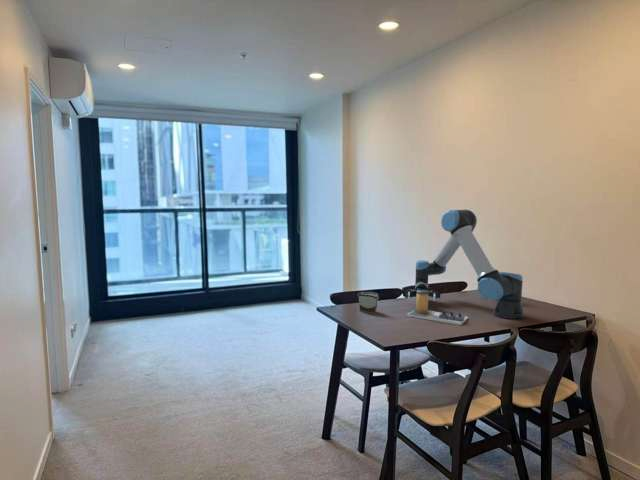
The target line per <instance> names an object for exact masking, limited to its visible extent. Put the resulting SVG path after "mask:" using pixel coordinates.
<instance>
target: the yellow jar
mask: <svg viewBox="0 0 640 480" xmlns="http://www.w3.org/2000/svg"><path fill="white" fill-rule="evenodd" d="M429 291H430V290H429ZM429 291H427V290H417V291H416V293H417V296H416V300H415V301H416V305H415V309H416V312H417V313H420V314H426V313H428V310H429V309H428V306H429V296H428V294H429Z"/></svg>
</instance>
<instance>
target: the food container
mask: <svg viewBox="0 0 640 480" xmlns="http://www.w3.org/2000/svg"><path fill="white" fill-rule="evenodd" d="M357 297H358V304H359V307H358V308H359V312H364V313H371V314H376V313H377V308H378V300H379V299H380V296H379V294H378V293H377V292H371V291H361V292H358V293H357Z"/></svg>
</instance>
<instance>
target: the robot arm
mask: <svg viewBox="0 0 640 480" xmlns="http://www.w3.org/2000/svg"><path fill="white" fill-rule="evenodd" d="M440 222H441V223H440V224H441V227H442V229H443V230H444V231H445V232H449V233H450V237H449V238H448V239H447V241H446V243H445V244H444V245H443V247H442V248H441V250H440V251H439V253H438V254H437V256H436V257H435V258H434V260H433V261H432V262H429V261H428V260H421V259H420V260H417V261H416V263H415V281H414V289H412V288H409V289H407V290H404V291H402V296H403V297H405V298H407V300H410V297H413V296H416V297H417V293H416V291H417V290H427V291H429V294H428V297H431V298H433V302H436V299H441V293H440V292H438V291H435V290H434V289H432V290H429V276H436V275H438V276H439V275H442V274H445V272H446V271H447V265H448V263H449V262H450V260H451V259H452V258H453V256H454V255H455V253H456V252H457V250H459V248H460V247H461V248H462V250H463V253H465V256H466V257H467V259H468V261H469V262H470V264H471V266H472V268H473V269H474V272H475V273H476V275H477V278H476V280H477V292H478V293H479V295H480V296H481V298H483V299H484V300H487V301H496V303H495V306H494V308H493V313H492V314H493V315H494V316H495V315H496V317H497V318H501V317H502V319H507V318H509V320H517V319H516V318H522V317H524V318H525V311H524V307H523V305H522V304H523V303H522V295H523V293H522V292H523V276H522V274H519V273H513V272H507V271H499V270H498V269H496V268H494V267H493V265H492V264H491V263H490V260H489V259H488V257H487V255H486V253H485V252H484V250H483V248H482V247H481V245H480V243H479V242H478V240H477V238H476V236H475V235H474V233H473V232H474V230H475V228H476V226H477V223H478V220H477V216H476V214H475V213H474V212H473V211H472V210H470V209H449V210H446V211H445V212H444V213H443V214H442V217H441V220H440ZM493 268H494V269H493ZM522 319H523V318H522Z"/></svg>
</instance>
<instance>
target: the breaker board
mask: <svg viewBox="0 0 640 480" xmlns="http://www.w3.org/2000/svg"><path fill="white" fill-rule="evenodd" d="M454 313H455V312H454V311H450V313H447V311H446V309H444V310H442V312H439V311H435V310H431V309H428V313H426V314H420V313H417V312H416V308H415V309H413V310H412V311H410V312H408V313H407V314H406V315H407V317H409V318H415V319H423V320H428V321H434V322H439V323H445V324H446V323H447V324H452V325H459V326H462V325H463V324H464V323H465V322H467V321H468V320H469V319H468V318H469V317H468V316H464V315H463V313H462V312H459V313H458V314H454ZM467 319H468V320H467Z"/></svg>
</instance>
